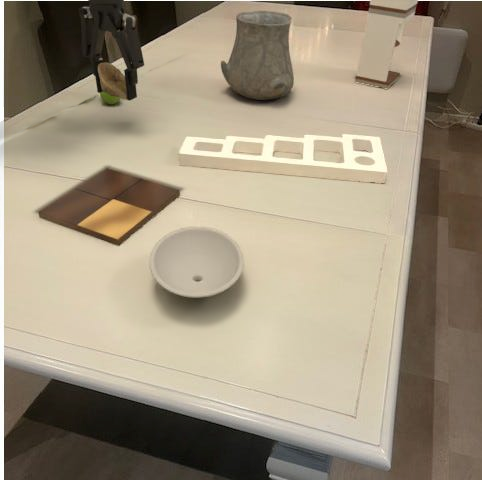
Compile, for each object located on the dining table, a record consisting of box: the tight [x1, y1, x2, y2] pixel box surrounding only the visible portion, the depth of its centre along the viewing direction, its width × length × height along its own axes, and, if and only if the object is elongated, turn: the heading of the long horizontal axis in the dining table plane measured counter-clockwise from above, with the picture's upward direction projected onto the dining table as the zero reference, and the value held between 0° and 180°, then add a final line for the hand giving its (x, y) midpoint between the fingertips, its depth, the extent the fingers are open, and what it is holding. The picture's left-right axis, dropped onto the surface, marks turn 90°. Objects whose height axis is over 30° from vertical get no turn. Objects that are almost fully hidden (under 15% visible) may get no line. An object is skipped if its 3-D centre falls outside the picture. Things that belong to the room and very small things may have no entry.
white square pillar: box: [354, 0, 419, 90], centre depth 141 cm, size 11×11×35 cm
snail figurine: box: [99, 57, 121, 105], centre depth 127 cm, size 5×6×12 cm
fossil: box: [98, 62, 128, 101], centre depth 112 cm, size 9×4×10 cm
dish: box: [148, 225, 245, 299], centre depth 75 cm, size 18×14×5 cm
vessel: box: [220, 10, 295, 101], centre depth 133 cm, size 22×22×20 cm
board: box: [37, 167, 181, 246], centre depth 92 cm, size 18×20×1 cm
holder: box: [178, 133, 388, 184], centre depth 111 cm, size 45×18×3 cm, turn 83°
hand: (117, 94), depth 113 cm, fingers closed on fossil, 8 cm apart
